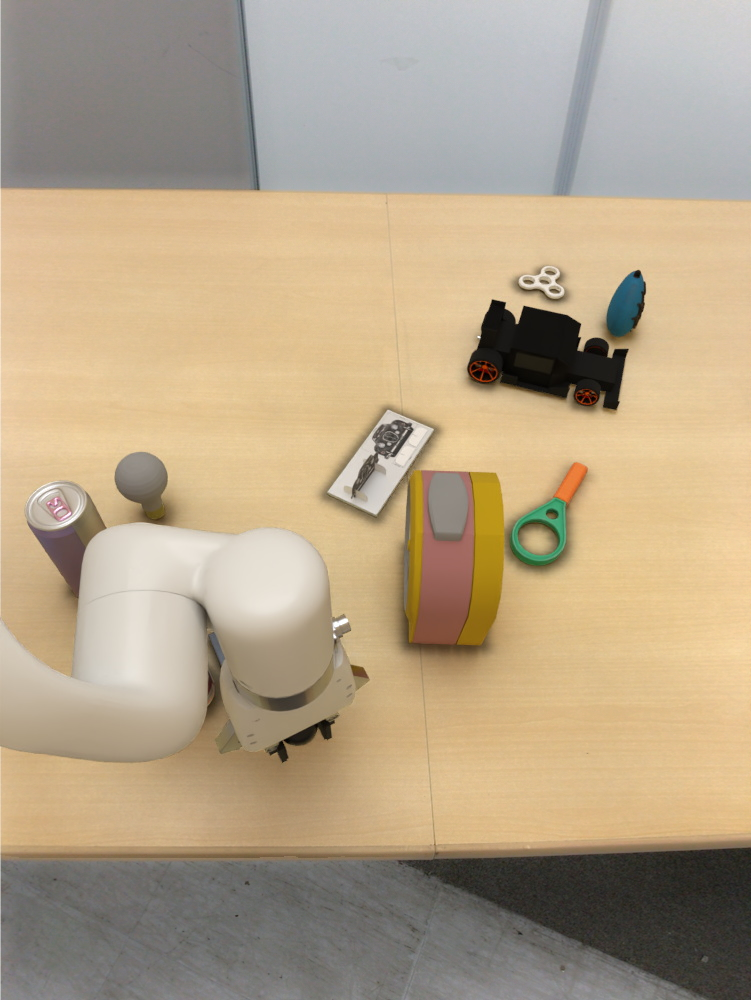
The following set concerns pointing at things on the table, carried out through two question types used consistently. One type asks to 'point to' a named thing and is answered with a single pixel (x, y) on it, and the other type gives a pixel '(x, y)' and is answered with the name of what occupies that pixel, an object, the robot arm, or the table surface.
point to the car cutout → (381, 463)
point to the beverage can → (64, 525)
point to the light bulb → (143, 481)
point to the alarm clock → (453, 556)
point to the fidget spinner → (544, 287)
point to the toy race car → (546, 356)
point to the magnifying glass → (539, 515)
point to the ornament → (626, 305)
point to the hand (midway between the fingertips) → (300, 735)
